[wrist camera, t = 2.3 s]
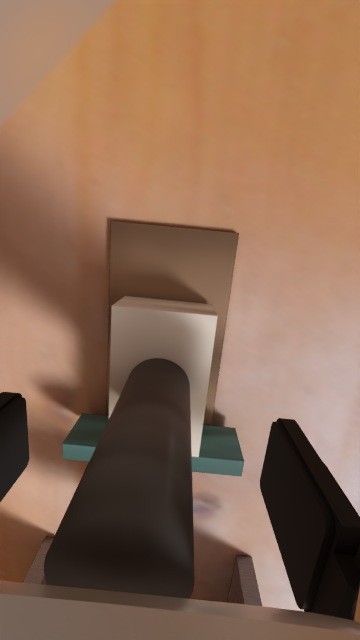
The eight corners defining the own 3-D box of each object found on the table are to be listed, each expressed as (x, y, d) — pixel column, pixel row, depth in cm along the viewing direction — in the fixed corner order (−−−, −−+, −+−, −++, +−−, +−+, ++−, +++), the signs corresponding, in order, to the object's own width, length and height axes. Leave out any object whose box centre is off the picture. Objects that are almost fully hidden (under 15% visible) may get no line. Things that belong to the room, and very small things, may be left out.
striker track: (112, 221, 14) (110, 220, 14) (237, 233, 14) (238, 233, 14) (107, 422, 18) (106, 425, 18) (209, 432, 18) (209, 435, 18)
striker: (81, 291, 15) (-162, 385, 5) (255, 308, 15) (415, 441, 4) (82, 426, 17) (-79, 694, 7) (232, 441, 17) (303, 732, 7)
